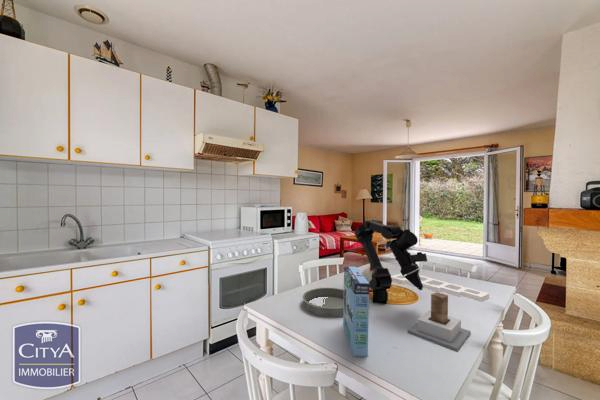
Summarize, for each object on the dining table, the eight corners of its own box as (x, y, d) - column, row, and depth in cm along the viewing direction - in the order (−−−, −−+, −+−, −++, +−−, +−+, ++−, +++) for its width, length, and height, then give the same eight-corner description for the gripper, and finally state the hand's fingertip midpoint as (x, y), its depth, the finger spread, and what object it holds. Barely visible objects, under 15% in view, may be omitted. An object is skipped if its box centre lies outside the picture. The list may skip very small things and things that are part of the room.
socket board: (407, 332, 95) (407, 319, 95) (424, 318, 106) (425, 306, 106) (457, 351, 84) (457, 336, 84) (470, 333, 95) (470, 320, 95)
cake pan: (307, 294, 133) (307, 285, 133) (357, 298, 128) (357, 289, 128) (297, 315, 109) (297, 304, 109) (357, 321, 104) (357, 310, 104)
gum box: (342, 326, 100) (343, 266, 100) (356, 326, 100) (356, 266, 100) (352, 357, 80) (353, 282, 80) (369, 357, 80) (370, 283, 80)
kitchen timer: (383, 285, 147) (383, 259, 147) (385, 294, 133) (385, 265, 133) (357, 283, 150) (358, 257, 150) (357, 292, 137) (357, 263, 137)
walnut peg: (430, 329, 95) (431, 294, 95) (436, 326, 98) (436, 292, 98) (441, 334, 92) (442, 297, 92) (447, 331, 94) (448, 295, 94)
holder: (489, 298, 130) (489, 293, 130) (473, 307, 120) (473, 301, 120) (407, 276, 167) (407, 272, 167) (389, 281, 157) (389, 276, 157)
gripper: (417, 243, 100) (442, 281, 94) (419, 245, 117) (440, 278, 111) (391, 256, 103) (413, 294, 97) (396, 256, 120) (415, 289, 114)
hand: (421, 288), depth 105 cm, fingers open, 9 cm apart
